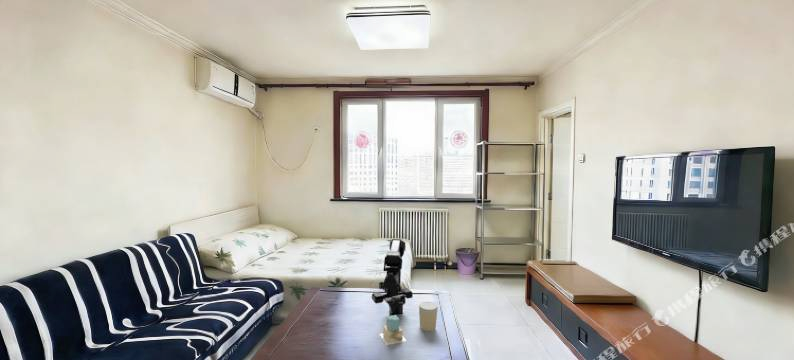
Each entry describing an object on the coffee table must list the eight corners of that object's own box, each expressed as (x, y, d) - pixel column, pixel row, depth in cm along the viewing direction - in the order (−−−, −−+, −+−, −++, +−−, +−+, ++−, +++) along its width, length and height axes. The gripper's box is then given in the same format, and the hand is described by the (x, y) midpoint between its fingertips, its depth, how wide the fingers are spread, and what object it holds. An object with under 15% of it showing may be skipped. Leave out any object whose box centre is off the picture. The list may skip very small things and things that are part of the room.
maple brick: (396, 332, 154) (397, 323, 154) (402, 339, 148) (402, 330, 147) (383, 335, 152) (383, 325, 151) (388, 342, 145) (388, 333, 145)
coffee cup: (438, 326, 163) (439, 303, 162) (434, 335, 154) (435, 311, 153) (421, 322, 166) (421, 300, 165) (416, 331, 157) (416, 307, 156)
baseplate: (398, 332, 156) (398, 330, 156) (406, 343, 147) (406, 341, 147) (379, 335, 152) (379, 333, 152) (386, 347, 143) (386, 345, 143)
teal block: (395, 324, 152) (395, 314, 152) (399, 329, 148) (399, 319, 148) (386, 326, 151) (386, 316, 150) (390, 331, 146) (390, 320, 146)
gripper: (404, 272, 160) (403, 302, 161) (368, 277, 153) (368, 308, 154) (413, 280, 150) (412, 312, 151) (375, 285, 143) (375, 319, 144)
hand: (392, 313), depth 150 cm, fingers closed
